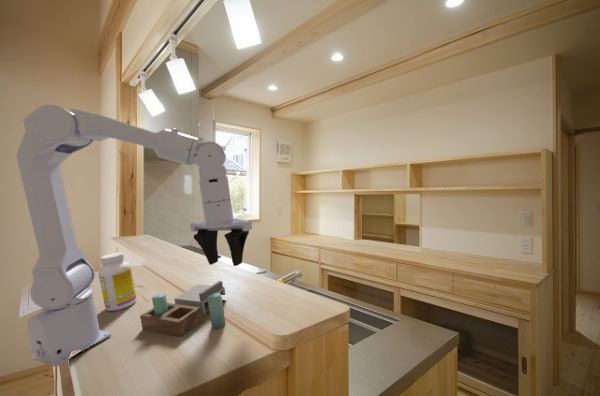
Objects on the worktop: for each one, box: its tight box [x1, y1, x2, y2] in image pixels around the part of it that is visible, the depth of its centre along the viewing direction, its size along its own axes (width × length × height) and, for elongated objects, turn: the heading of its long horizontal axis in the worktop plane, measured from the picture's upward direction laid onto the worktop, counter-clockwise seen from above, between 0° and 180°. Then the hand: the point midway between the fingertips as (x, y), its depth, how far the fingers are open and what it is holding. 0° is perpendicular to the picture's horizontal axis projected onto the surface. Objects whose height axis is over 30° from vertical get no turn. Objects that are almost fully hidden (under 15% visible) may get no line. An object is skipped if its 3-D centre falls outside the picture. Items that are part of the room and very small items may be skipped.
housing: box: [173, 280, 226, 316], centre depth 65 cm, size 7×8×5 cm
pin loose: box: [207, 293, 226, 329], centre depth 56 cm, size 3×3×6 cm
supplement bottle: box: [98, 251, 137, 312], centre depth 70 cm, size 7×7×13 cm
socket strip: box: [139, 302, 203, 338], centre depth 58 cm, size 6×11×3 cm, turn 66°
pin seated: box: [151, 292, 169, 316], centre depth 59 cm, size 3×3×6 cm
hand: (225, 263), depth 61 cm, fingers open, 6 cm apart
